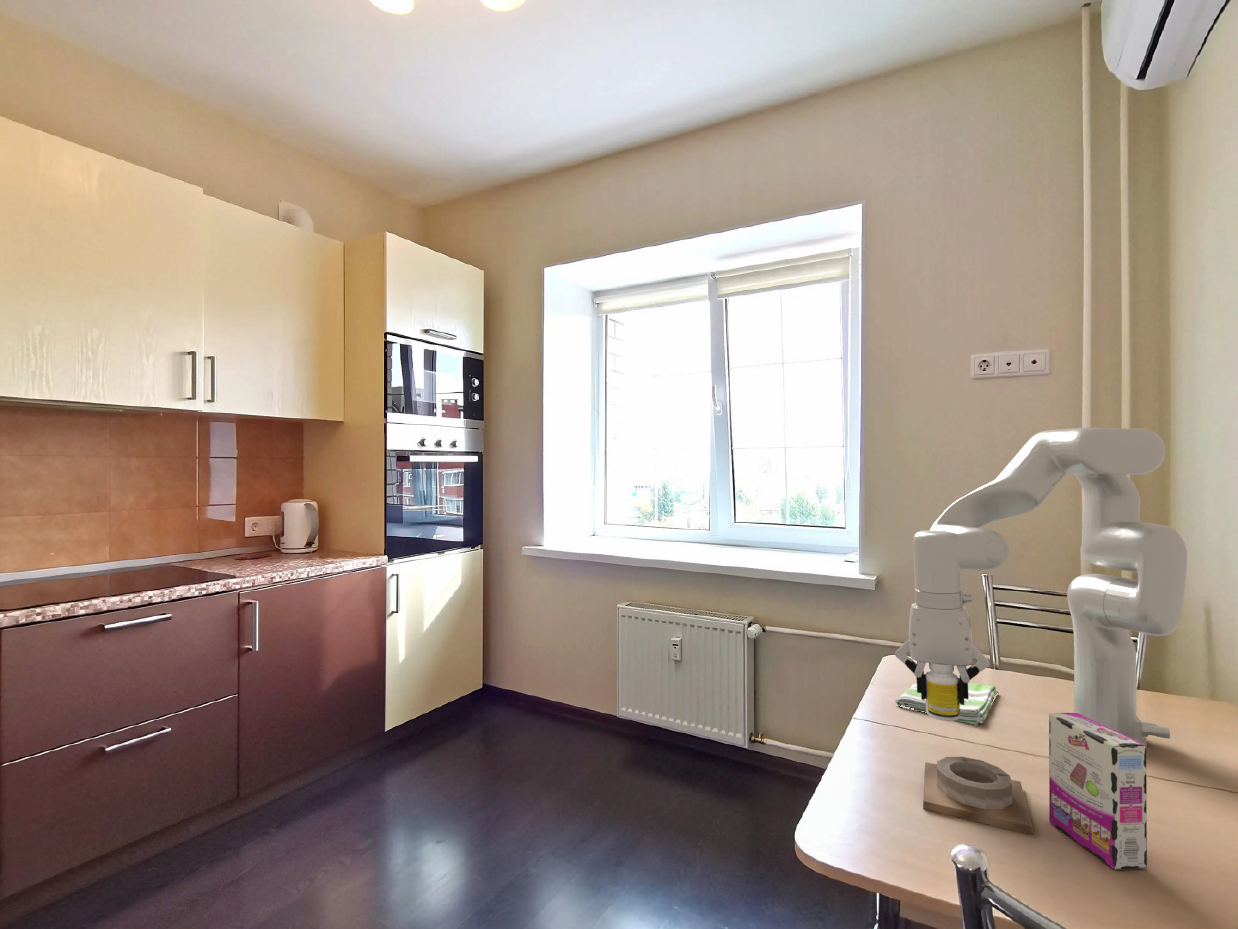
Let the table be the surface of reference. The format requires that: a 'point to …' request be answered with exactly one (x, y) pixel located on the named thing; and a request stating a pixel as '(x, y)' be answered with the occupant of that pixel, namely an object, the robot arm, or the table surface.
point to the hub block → (975, 793)
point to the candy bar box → (1098, 789)
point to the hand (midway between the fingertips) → (942, 698)
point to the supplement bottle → (942, 692)
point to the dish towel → (969, 712)
